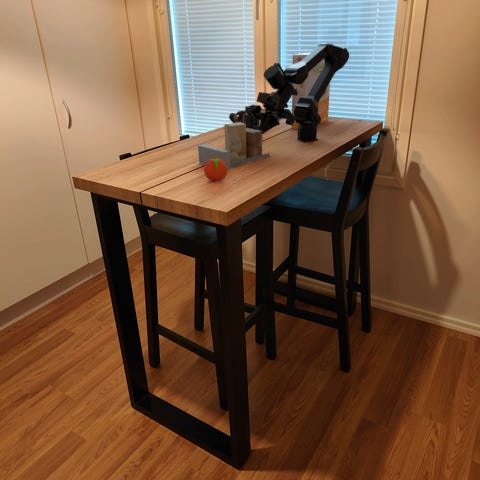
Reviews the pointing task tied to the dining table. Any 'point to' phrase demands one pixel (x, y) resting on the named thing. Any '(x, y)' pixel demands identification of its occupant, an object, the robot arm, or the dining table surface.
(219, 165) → the red rounded fruit
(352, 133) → the dining table surface
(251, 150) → the walnut block
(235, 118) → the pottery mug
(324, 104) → the cereal box
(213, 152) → the backstop rail
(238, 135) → the skincare box
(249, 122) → the supplement bottle
